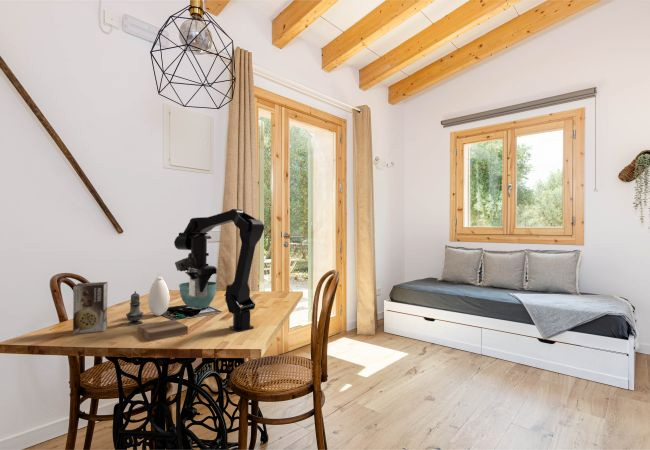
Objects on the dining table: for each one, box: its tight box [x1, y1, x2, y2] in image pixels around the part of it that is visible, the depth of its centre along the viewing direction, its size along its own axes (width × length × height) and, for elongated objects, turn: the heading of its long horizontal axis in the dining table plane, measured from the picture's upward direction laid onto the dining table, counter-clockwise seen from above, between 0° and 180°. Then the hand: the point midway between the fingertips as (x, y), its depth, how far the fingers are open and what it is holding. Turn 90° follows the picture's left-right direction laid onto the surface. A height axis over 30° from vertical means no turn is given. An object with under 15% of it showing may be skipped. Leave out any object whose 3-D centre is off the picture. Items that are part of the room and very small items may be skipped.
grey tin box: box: [188, 278, 207, 297], centre depth 137 cm, size 5×5×6 cm
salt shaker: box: [125, 290, 144, 326], centre depth 133 cm, size 6×6×12 cm
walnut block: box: [137, 319, 189, 342], centre depth 120 cm, size 12×12×3 cm
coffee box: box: [72, 281, 108, 335], centre depth 123 cm, size 9×6×16 cm
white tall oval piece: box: [147, 270, 171, 317], centre depth 145 cm, size 8×8×18 cm
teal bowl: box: [178, 281, 218, 309], centre depth 160 cm, size 16×16×11 cm
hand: (198, 291), depth 137 cm, fingers closed on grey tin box, 5 cm apart
